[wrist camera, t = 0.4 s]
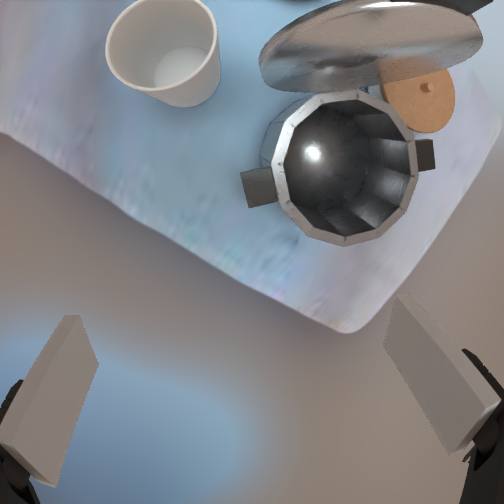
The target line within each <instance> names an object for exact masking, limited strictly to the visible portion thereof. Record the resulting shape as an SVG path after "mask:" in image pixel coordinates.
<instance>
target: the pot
mask: <svg viewBox="0 0 504 504" xmlns="http://www.w3.org/2000/svg"><path fill="white" fill-rule="evenodd" d="M260 160H261V166H262V168H258V169H254V170H250V171H246V172H242V173H240V175H241V179H242V183H243V187H244V192H245V196H246V200H247V204H248V207H249V208H252V207H256V206H260V205H264V204H269V203H273V202H278V204H279V205H280V207H281V208H282V209H283V210H284V211H285V212H286V213H287V214H288V215H289V216H290V218H291V219H292V220H293V221H294V222H295V223H296V224H297V225H298V226H299V227H300V228H301V230H302V231H303V232H304V233H305V234H306V235H307V236H308V237H311V238H315V239H318V240H322V241H325V242H329V243H332V244H336V245H339V246H343V247H345V246H349V245H353V244H357V243H361V242H365V241H368V240H372V239H376V238H379V237H380V236H381V235H383V234H384V233H385V232H386V231H387V230H388V229H389V228H390V227H391V226H392V225H393V224H394V223H395V222H396V221H397V220H398V219H400V218H401V217H402V216H403V215H404V214H405V212H406V211H407V208H408V206H409V203H410V200H411V197H412V195H413V192H414V189H415V186H416V184H417V181H418V178H419V177H418V176H419V174H418V172H421V171H426V170H432V169H435V159H434V149H433V140H430V139H422V140H415V139H414V137H413V135H412V134H411V132H410V131H409V129H408V128H407V126H406V125H405V123H404V121H403V120H402V119H401V117H400V116H399V114H398V113H397V111H396V110H395V108H394V107H392V105H390V104H388V103H386V102H384V101H382V100H380V99H378V98H376V97H374V96H372V95H370V94H368V93H366V92H364V91H362V90H360V89H349V90H339V91H331V92H323V93H317V94H314V95H312V96H309V97H306V98H304V99H301V100H299V101H296V102H294V103H293V104H292V105H290V106H289V107H288V108H287V109H285V110H284V111H283V112H281V113H280V114H279V115H278V116H277V117H276V118H275V119H274V120H273V121H272V122H271V123H270V124H269V127H268V130H267V132H266V134H265V136H264V139H263V143H262V147H261V152H260Z"/></svg>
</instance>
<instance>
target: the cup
mask: <svg viewBox="0 0 504 504" xmlns="http://www.w3.org/2000/svg"><path fill="white" fill-rule="evenodd" d="M105 55H106V60H107V63H108V66H109V68H110V70H111V71H112V73H113V74H114V75H115V76H116V78H117V79H119V80H120V81H121V82H122V83H124V84H125V85H127V86H129V87H131V88H133V89H135V90H138V91H140V92H142V93H145V94H147V95H149V96H151V97H154V98H156V99H158V100H160V101H163V102H165V103H167V104H169V105H172V106H175V107H181V108H186V107H193V106H196V105H199V104H201V103H203V102H204V101H206V100H207V99H208V98H210V97H211V96H212V94H213V93H214V92H215V91H216V89H217V87H218V85H219V82H220V77H221V69H220V56H219V43H218V31H217V25H216V21H215V19H214V17H213V15H212V13H211V11H210V10H209V9H208V7H207V6H206V5H205V4H204V3H202V2H201V1H200V0H138V1H136V2H135V3H133V4H132V5H130V6H129V7H128V8H126V9H125V10H124V11H123V12H122V13H121V14H120V15H119V16H118V17H117V19H116V20H115V22H114V23H113V25H112V26H111V28H110V31H109V33H108V36H107V39H106V45H105Z"/></svg>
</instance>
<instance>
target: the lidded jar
mask: <svg viewBox="0 0 504 504" xmlns="http://www.w3.org/2000/svg"><path fill="white" fill-rule="evenodd" d="M368 92H369V94H370V95H372V96H374V97H376V98H378V99H380V100H382V101H384V102H386V103H388V104H390V105H392V107H394V108H395V110H396V111H397V113H398V114H399V116H400V117H401V119H402V120H403V121H404V123H405V125H406V126H407V128H408V129H409V130H410V131H415V132H419V133H433V132H436V131H438V130H440V129H442V128H443V127H444V126H445V125H446V124H447V123H448V121H449V120H450V118H451V116H452V113H453V110H454V106H455V91H454V86H453V82H452V79H451V77H450V74H449V72H448V71H447V69H443V70H440V71H437V72H434V73H430V74H427V75H423V76H419V77H415V78H411V79H407V80H402V81H397V82H392V83H387V84H382V85H376V86H370V87H368Z"/></svg>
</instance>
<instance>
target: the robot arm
mask: <svg viewBox="0 0 504 504" xmlns="http://www.w3.org/2000/svg"><path fill="white" fill-rule="evenodd" d="M383 346H384V348H385V350H386V351H387V353H388V354H389V356H390V357H391V359H392V360H393V362H394V364H395V365H396V367H397V369H398V370H399V372H400V373H401V375H402V377H403V378H404V380H405V382H406V383H407V385H408V386H409V388H410V390H411V391H412V393H413V395H414V396H415V398H416V400H417V401H418V403H419V405H420V406H421V408H422V410H423V412H424V413H425V415H426V417H427V418H428V420H429V422H430V424H431V426H432V427H433V429H434V431H435V433H436V434H437V436H438V438H439V440H440V441H441V443H442V445H443V447H444V449H445V451H446V452H447V454H448V456H451V455H454V454H455V453H458V452H459V451H461V450H463V449H465V448H466V447H467V445H468V444H469V443H470V441H471V440H473V441H474V443H475V445H474V447H473V448H472V449H471V450H470V451H469V452H468V454H466V456H465V457H464V459H463V461H462V462H465V461H466V460H467V459H468V458H469V457H470V456H471V457H470V461H469V462H468V463H469V467H468V472H467V476H466V480H465V484H464V488H463V492H462V496H461V499H460V503H459V504H504V389H503V388H502V386H501V385H500V384H499V383H498V382H497V380H496V379H495V378H494V377H493V376H492V374H491V373H489V372H488V369H487V368H486V367H485V366H483V364H482V362H481V361H480V360H479V359H478V358H477V356H476V355H474V354H472V353H471V352H470V351H468V350H467V349H462V350H461V349H460V348H459V347H458V346H457V345H456V343H455V342H454V341H453V340H452V339H451V338H450V336H449V335H448V334H447V333H446V332H445V331H444V330H443V329H442V327H440V325H439V324H438V323H437V322H436V321H435V320H434V319H433V318H432V316H430V315H429V313H428V312H427V311H426V310H425V309H424V308H423V307H422V306H421V305H420V304H419V303H418V301H417V300H416V299H415V298H414V297H413V296H412V295H411V294H402V295H396V296H395V300H394V304H393V309H392V313H391V317H390V321H389V325H388V329H387V332H386V336H385V340H384V343H383ZM98 365H99V363H98V361H97V359H96V356H95V354H94V351H93V349H92V346H91V344H90V341H89V339H88V336H87V334H86V331H85V328H84V325H83V322H82V320H81V317H80V315H65V316H64V317H63V319H62V321H61V322H60V323H59V325H58V326H57V328H56V329H55V331H54V332H53V334H52V335H51V337H50V338H49V340H48V342H47V343H46V345H45V346H44V348H43V350H42V351H41V353H40V354H39V356H38V358H37V359H36V361H35V362H34V364H33V366H32V367H31V369H30V371H29V373H28V374H27V376H26V378H25V379H24V380H19V381H18V382H17V383H16V384H15V385H14V386H13V387H11V389H10V391H9V393H8V394H7V396H6V400H4V402H3V403H2V405H1V408H0V504H40V502H39V499H38V497H37V495H36V492H35V490H34V487H33V485H32V484H31V482H30V481H29V477H30V474H31V475H32V476H33V477H34V478H35V479H36V480H37V481H39V482H40V483H43V484H46V485H49V486H52V487H56V486H57V483H58V479H59V476H60V472H61V469H62V465H63V462H64V459H65V456H66V452H67V449H68V446H69V443H70V440H71V437H72V434H73V431H74V428H75V425H76V422H77V420H78V417H79V414H80V411H81V409H82V406H83V403H84V401H85V398H86V395H87V393H88V390H89V388H90V385H91V382H92V380H93V378H94V375H95V373H96V370H97V368H98Z"/></svg>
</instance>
